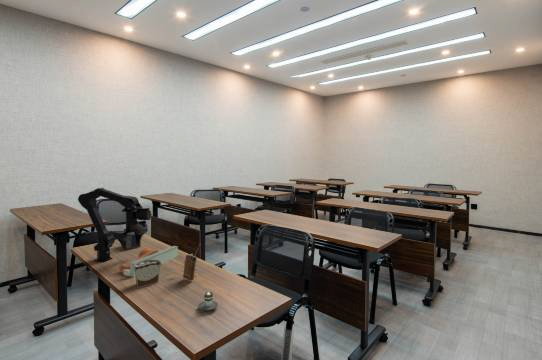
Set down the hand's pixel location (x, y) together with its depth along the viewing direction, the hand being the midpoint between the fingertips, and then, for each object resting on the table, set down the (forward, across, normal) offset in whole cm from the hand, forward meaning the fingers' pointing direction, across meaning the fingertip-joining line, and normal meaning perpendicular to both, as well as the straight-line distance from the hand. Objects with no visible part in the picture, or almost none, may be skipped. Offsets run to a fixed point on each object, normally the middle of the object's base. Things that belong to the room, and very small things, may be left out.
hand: (131, 247), depth 161 cm
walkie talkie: (+8, -8, -43) cm, 45 cm away
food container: (+8, -19, -29) cm, 35 cm away
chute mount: (+8, 0, -16) cm, 18 cm away
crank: (+8, -5, -11) cm, 15 cm away
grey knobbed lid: (+9, -25, -67) cm, 72 cm away
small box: (+8, +18, +18) cm, 27 cm away
